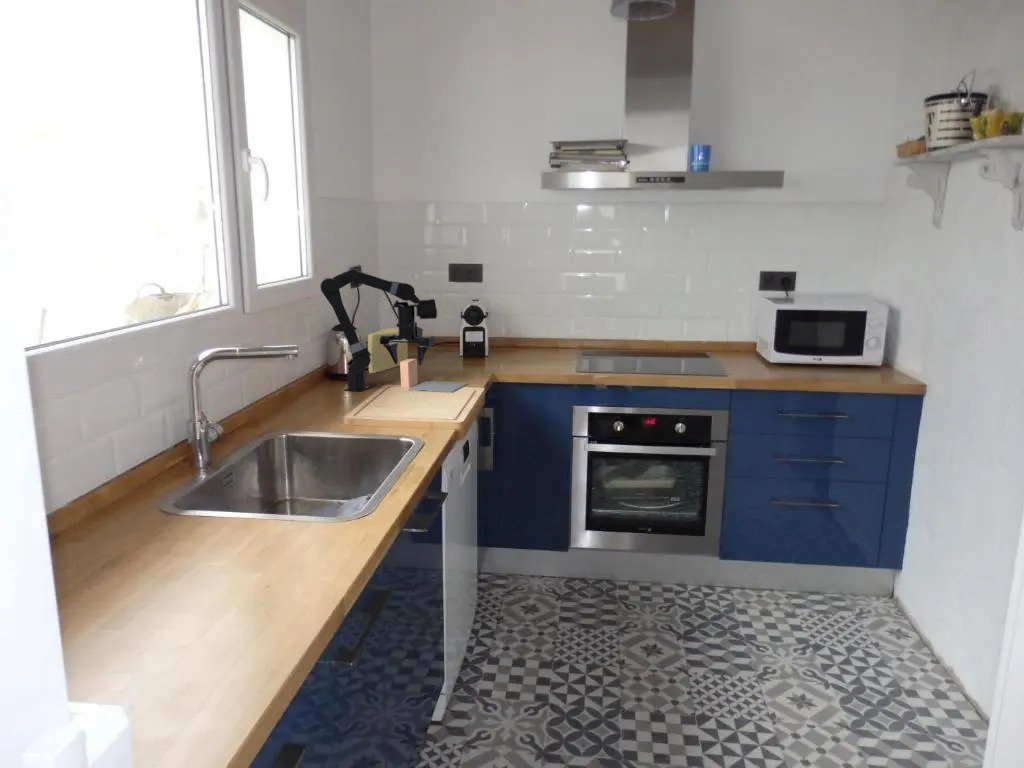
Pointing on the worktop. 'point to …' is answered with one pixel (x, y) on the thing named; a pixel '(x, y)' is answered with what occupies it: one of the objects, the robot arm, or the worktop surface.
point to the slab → (408, 372)
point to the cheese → (384, 351)
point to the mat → (438, 386)
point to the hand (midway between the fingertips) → (408, 364)
